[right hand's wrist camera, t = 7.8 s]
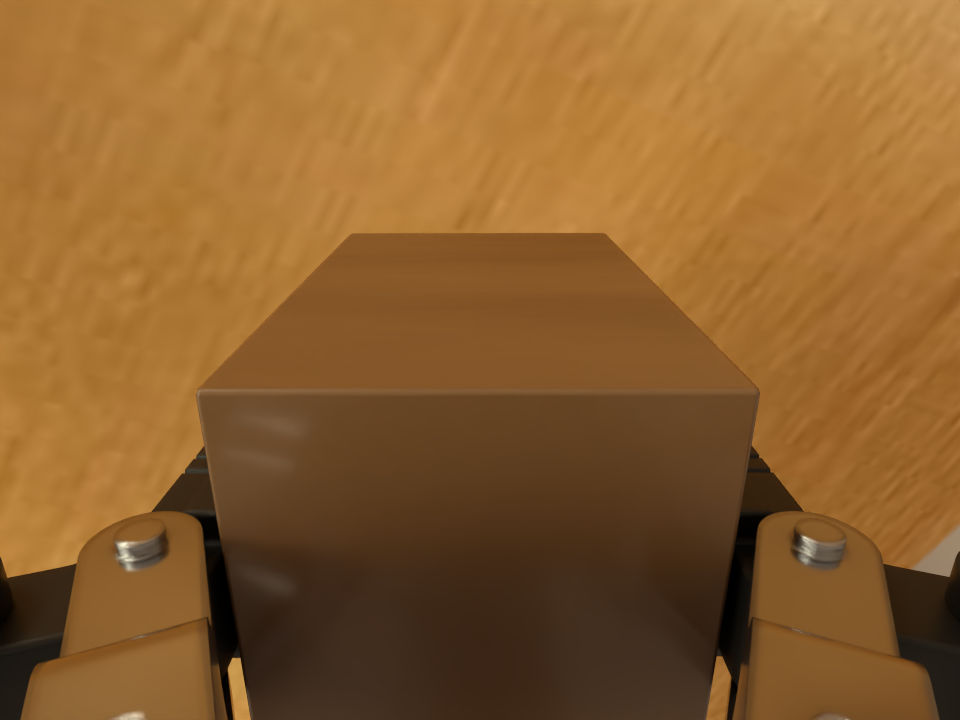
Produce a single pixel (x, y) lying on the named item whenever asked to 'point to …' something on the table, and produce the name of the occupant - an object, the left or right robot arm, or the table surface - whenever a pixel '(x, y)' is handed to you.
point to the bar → (478, 486)
